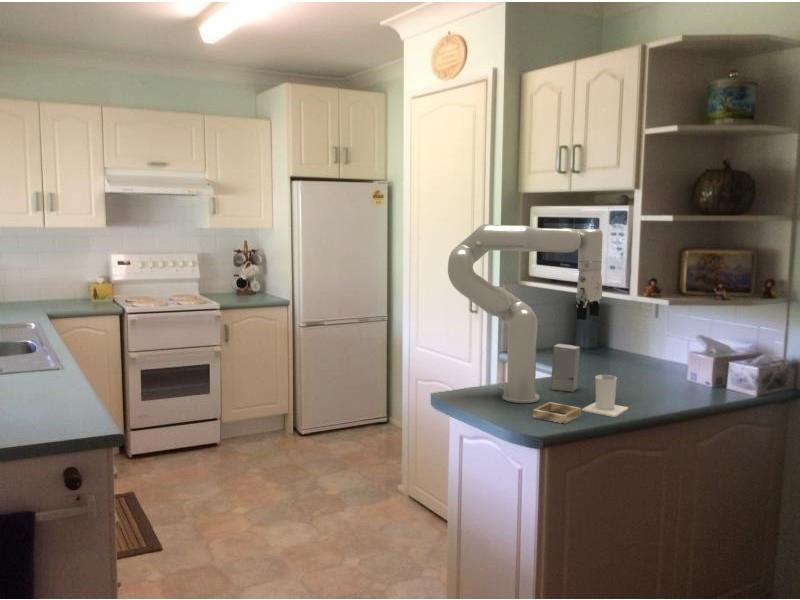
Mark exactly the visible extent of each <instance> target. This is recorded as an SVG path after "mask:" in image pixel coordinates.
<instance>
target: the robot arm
mask: <svg viewBox="0 0 800 600" xmlns="http://www.w3.org/2000/svg"><path fill="white" fill-rule="evenodd" d="M577 250H578V251H577ZM489 251H502V252H503V251H505V252H506V251H508V252H509V251H510V252H511V251H513V252H527V253H528V252H529V253H530V252H542V253H543V252H545V253H573V252H576V251H577V252H578V253H577V254H578V256H577V271H578V278H577V287H576V294H575V302H576V319H577V320H582V321H586V320H587V317H588V307H587V305H588V302H590V303H589V316H590V317H591V316H592V317H593V316H594V317H599V316H600V304H601V299H602V297H603V277H602V268H603V267H602V261H603V260H602V259H603V231H602V230H601V229H599V228H583V229H582V228H581V229H579V228H570V227H563V228H543V227H542V228H541V227H535V226H532V225H531V226H530V225H524V224H523V225H513V224H511V225H509V224H490V223H485V224H481V225H480V226H478V227H477V228H476V229H475V230H474V231H473V232H471V234H470V235H468V236H467V237H466V238H465V239H464V240H462V241H461V242H460V243H459V244H457V246H455V247H454V248H453V249H452V251H451V252H450V254H449V256H448V262H447V274H448V275H447V276H448V279H449V281H450V283H451V285H452V287H453V288H454V289H455V290H457V292H459V293H460V294H462V296H464V297H465V298H467V299H468V300H469V301H470V302H472V303H473V304H475V305H476V306H478V307H479V308H480V309H481V310H483V311H484V312H485V313H486V314H488V315H490V316H492V317H497V318H498V319H500V320H501V321H502V322H504V323H505V324H507V349H506V350H507V362H506V363H507V364H506V365H507V367H506V370H507V372H506V383H504V382H499V383H498V384H497V390H501V391H503V392H502V394H501V395H502V396H501V397H502V399H503V400H505V402H506V401H507V402H509V403H514V404H533V403H536V402H538V401H540V397H541V396H540V395H539V394H538V393H537V392H536V376H537V375H536V371H537V370H536V369H537V363H536V362H537V337H538V318H537V315H536V313H535V312H534V310H533V309H532V307H531V306H529V305H528V304H527V303H526V302H524V301H522V300H521V299H520V298H518V297H517V296H515V294H512V293H511V292H510V291H508V290H506V289H505V288H503V287H501V286H499V285H493V284H491V283H490V282H489V281H487V279H485V278H484V277H482V276H481V275H479V274H478V273H476V272H475V270H474V268H473V267H474V264H475V263H476V262H477V261H479V260H480V259H481V258H482V257H483V256H485V255H486V254H487V253H488V252H489Z"/></svg>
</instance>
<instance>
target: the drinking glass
mask: <svg viewBox="0 0 800 600" xmlns="http://www.w3.org/2000/svg"><path fill="white" fill-rule="evenodd" d="M594 379H595V381H594V382H595V402H596V408H598V409H602V410H612V409H614V405H616V404H615V403H616V393H617V379H618V377H617V376H615V375H609V374H598V375H595V377H594Z"/></svg>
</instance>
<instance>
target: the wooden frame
mask: <svg viewBox="0 0 800 600" xmlns="http://www.w3.org/2000/svg"><path fill="white" fill-rule="evenodd" d="M559 412H560V413H561V414H560V413H559ZM581 416H582V408H581V407H579V406H578V407H577V406H572V405H566V404H563V403H556V402H552V401H547V402H546V403H544V404H542V405H540V406H538V407H536V408H534V409H532V418H534V419H538V420H542V419H543V421H547V420H548V422H551V421H553V422H552V423H556V422H558V423H557V424H561V423H564V424H563V425H566V423H567V424H569V423H570V422H572V421H574V420H575V419H578V418H580V417H581ZM568 422H569V423H568Z"/></svg>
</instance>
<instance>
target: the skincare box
mask: <svg viewBox="0 0 800 600" xmlns="http://www.w3.org/2000/svg"><path fill="white" fill-rule="evenodd" d="M580 351H581V346H578V345H572V344H566V343H565V344H563V343H557V344H555V345H553V351H552V352H553V353H552V366H551V381H550V389H551V390H555V391H563V392H570V393H572V392H573V393H574V392H575V391H576V390H577V389H578V379H579V378H578V377H579V367H580V366H579V365H580V363H579V362H580Z"/></svg>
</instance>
